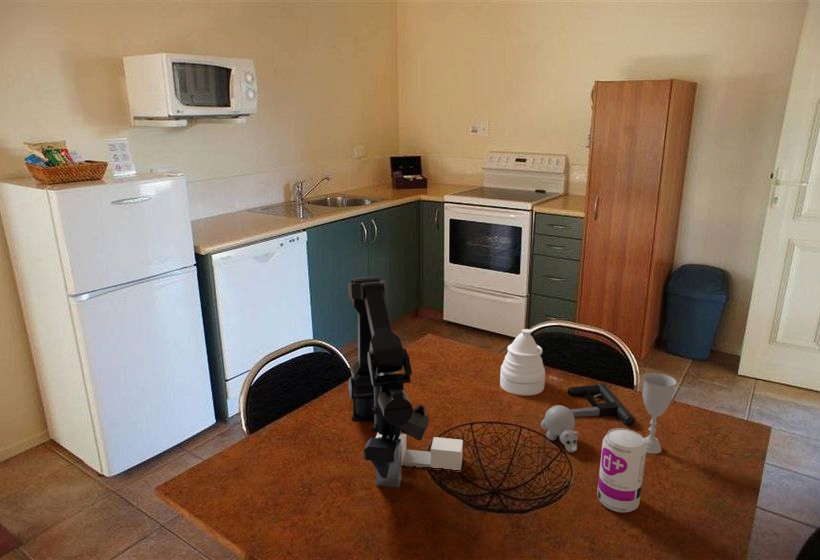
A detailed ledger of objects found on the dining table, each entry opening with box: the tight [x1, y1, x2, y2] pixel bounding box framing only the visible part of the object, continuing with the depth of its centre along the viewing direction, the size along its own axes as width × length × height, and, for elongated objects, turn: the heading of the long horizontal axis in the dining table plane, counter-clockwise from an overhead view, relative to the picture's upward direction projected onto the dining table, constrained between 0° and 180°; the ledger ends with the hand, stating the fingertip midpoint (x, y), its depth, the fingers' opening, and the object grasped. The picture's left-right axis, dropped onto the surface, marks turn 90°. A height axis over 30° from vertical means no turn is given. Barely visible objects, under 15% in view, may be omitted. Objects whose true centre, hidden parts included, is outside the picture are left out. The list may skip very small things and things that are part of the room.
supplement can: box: [596, 427, 647, 513], centre depth 116 cm, size 8×8×15 cm
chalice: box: [641, 372, 678, 455], centre depth 135 cm, size 7×7×18 cm
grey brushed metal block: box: [375, 437, 402, 489], centre depth 123 cm, size 5×3×10 cm, turn 80°
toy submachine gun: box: [567, 382, 636, 427], centre depth 155 cm, size 3×20×16 cm
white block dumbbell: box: [375, 432, 464, 471], centre depth 131 cm, size 20×5×5 cm, turn 80°
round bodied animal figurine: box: [540, 404, 580, 454], centre depth 138 cm, size 7×12×8 cm, turn 13°
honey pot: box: [499, 328, 546, 396], centre depth 166 cm, size 13×13×18 cm
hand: (388, 465), depth 123 cm, fingers open, 8 cm apart
